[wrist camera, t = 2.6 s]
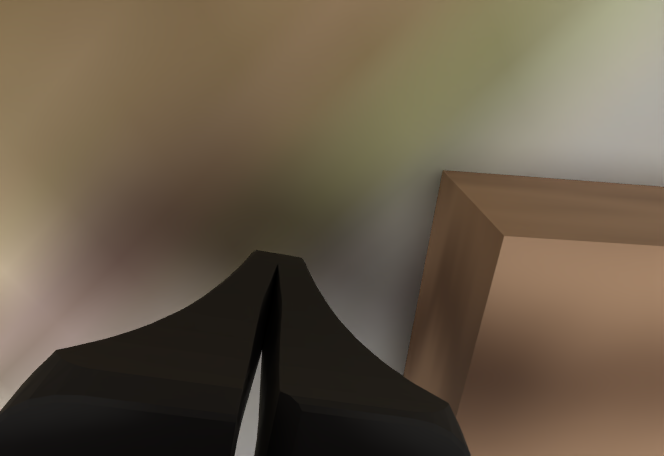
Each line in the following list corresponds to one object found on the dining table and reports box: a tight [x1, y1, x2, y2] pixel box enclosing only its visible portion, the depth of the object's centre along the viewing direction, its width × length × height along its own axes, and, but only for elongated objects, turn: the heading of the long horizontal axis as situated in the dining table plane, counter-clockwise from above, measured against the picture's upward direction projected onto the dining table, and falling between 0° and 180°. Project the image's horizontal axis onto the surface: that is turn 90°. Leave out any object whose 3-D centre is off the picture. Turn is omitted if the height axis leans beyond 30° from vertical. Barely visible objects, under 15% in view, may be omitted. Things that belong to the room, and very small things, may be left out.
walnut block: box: [403, 170, 664, 456], centre depth 13 cm, size 8×10×5 cm
